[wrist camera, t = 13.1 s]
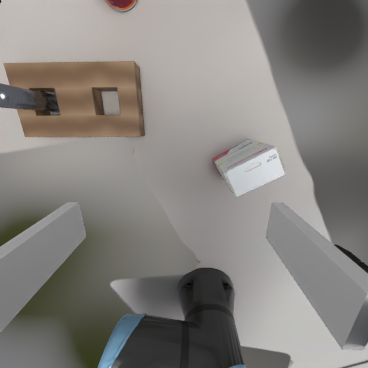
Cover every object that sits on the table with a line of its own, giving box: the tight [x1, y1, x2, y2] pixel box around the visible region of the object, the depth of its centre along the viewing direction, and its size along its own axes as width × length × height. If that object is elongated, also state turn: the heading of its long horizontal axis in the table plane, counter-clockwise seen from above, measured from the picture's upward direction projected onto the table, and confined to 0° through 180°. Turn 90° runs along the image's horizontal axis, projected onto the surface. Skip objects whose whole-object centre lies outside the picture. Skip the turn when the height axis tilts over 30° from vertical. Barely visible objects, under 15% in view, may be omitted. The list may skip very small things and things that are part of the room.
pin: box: [0, 84, 60, 112], centre depth 29 cm, size 3×3×12 cm
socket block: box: [4, 61, 145, 137], centre depth 33 cm, size 12×22×4 cm, turn 90°
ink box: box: [213, 139, 286, 198], centre depth 32 cm, size 9×5×12 cm, turn 119°
